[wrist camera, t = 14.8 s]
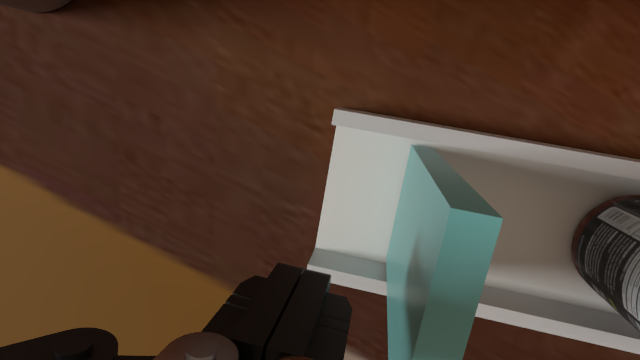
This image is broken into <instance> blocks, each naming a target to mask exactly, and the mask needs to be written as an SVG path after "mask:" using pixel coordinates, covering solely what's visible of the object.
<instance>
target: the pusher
mask: <svg viewBox="0 0 640 360" xmlns="http://www.w3.org/2000/svg"><path fill="white" fill-rule="evenodd" d="M502 221H503V218H502V217H501V216H500V215H499V214H498V213H497V212H496V211H495V210H494V209H493V208H492V207H491V206H490V205H489V204H488V203H487V202H486V201H485V200H484V199H483V198H482V197H481V196H480V195H479V194H478V193H477V192H476V191H475V190H474V189H473V188H472V187H471V186H470V185H469V184H468V183H467V182H466V181H465V180H464V179H463V178H462V177H461V176H460V175H459V174H458V173H457V172H456V171H455V170H454V169H453V168H452V167H451V166H450V165H449V164H448V163H447V162H446V161H445V160H444V159H443V158H442V157H441V156H440V155H439V154H438V153H437V152H436V151H435V150H434V149H433V148H428V147H422V146H417V145H411V148H410V153H409V157H408V162H407V166H406V171H405V175H404V180H403V184H402V189H401V193H400V198H399V202H398V207H397V211H396V216H395V220H394V225H393V229H392V234H391V238H390V243H389V247H388V252H387V256H386V270H387V319H388V360H462V358H463V355H464V352H465V348H466V345H467V341H468V338H469V334H470V331H471V328H472V324H473V321H474V317H475V314H476V310H477V307H478V304H479V300H480V297H481V293H482V290H483V286H484V283H485V280H486V276H487V273H488V269H489V266H490V262H491V259H492V256H493V252H494V249H495V245H496V242H497V238H498V235H499V232H500V228H501V225H502Z"/></svg>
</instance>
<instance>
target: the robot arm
mask: <svg viewBox="0 0 640 360" xmlns="http://www.w3.org/2000/svg"><path fill="white" fill-rule="evenodd" d="M70 1H71V0H0V5H4V6H8V7H12V8H16V9H20V10H25V11H30V12H36V13H37V12H49V11H52V10H55V9H58V8H60V7H63V6H64V5H65V4H67V3H68V2H70ZM330 281H331V275H330V274H326V273H322V272H317V271H313V270H309V269H305V270H304V268H300V267H295V266H291V265H287V264H283V263H277V265H276V266H275V268H274V269H273V271H272V272H271V274H270V275H269V276H268V278H264V277H260V276H256V275H255V276H253V277H251V278H249V279H247V280H245V281H243V282H241V283H240V285H239V286H238V287H237V288H236V290H235V291H234V292H233V294H232V295H231V296H230V297H229V298H228V299H227V301H226V303H225V304H223V306H222V307H221V308H220V310H219V311H218V312H217V313H216V314H215V315H214V317H213V318H212V319H211V320H210V322H209V323H208V324H207V325H206V327H205V328H204V329H203V330H202V332H195V333H190V334H187V335H183V336H181V337H179V338H177V339H175V340H173V341H172V342H171V343H170V344H168V346H166V347H165V348H164V349H163V350H162V351H161V352H160V353H159V354H158V355H157V356H118V342H117V339H116V338H115V336H114V335H113V334H111V333H110V332H108V331H105V330H102V329H98V328H76V329H71V330H66V331H62V332H58V333H54V334H50V335H46V336H42V337H39V338H35V339H31V340H27V341H23V342H19V343H15V344H11V345H7V346H4V347H0V360H343V359H344V353H345V347H346V342H347V336H348V330H349V324H350V318H351V312H352V308H351V306H350V304H349V302H348V300H347V298H346V297H344V296H340V295H335V294H331V293H328V292H329V286H330Z"/></svg>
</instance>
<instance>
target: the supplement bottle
mask: <svg viewBox="0 0 640 360" xmlns="http://www.w3.org/2000/svg"><path fill="white" fill-rule="evenodd" d="M571 254H572V260H573V262H574V264H575V267H576V269H577V271H578V273H579V274H580V276H581V277H582V278H583V279H584V281H586V283H587V284H588V285H589V286H590V287H591V288H592V289H593V290H594V291H595V292H596V293H597V294H598V295H600V296H601V297H602V298H603V299H604V300H605V301H606V302H607V303H608V304H609V305H610V306H612V307H613V308H614V309H615V310H616V311H617V312H618V313H619V314H620V315H621V316H622V317H623V318H624V319H625V320H627V321H628V322H629V323H630V324H631V325H632V326H633V327H634V328H635V329H636V330H638V331H639V332H640V195H628V196H622V197H621V196H619V197H616V198H614V199H611V200H608V201H606V202H604V203H602V204H601V205H599V206H597V207H596V208H594V209H593V210H591V211H590V212H589V213H588V214H587V215H586V216H585V217H584V218H583V219H582V220H581V222H580V223H579V225H578V227H577V229H576V230H575V233H574V236H573V240H572V244H571Z"/></svg>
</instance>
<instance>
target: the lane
mask: <svg viewBox="0 0 640 360" xmlns="http://www.w3.org/2000/svg"><path fill="white" fill-rule="evenodd" d="M332 125H337V126H336V131H335V137H334V143H333V149H332V154H331V160H330V166H329V172H328V177H327V183H326V189H325V195H324V200H323V206H322V212H321V218H320V223H319V229H318V235H317V241H316V246H315V249H314V252H313V254H312V256H311V258H310V260H309V263H308V266H307V269H309V270H313V271H317V272H322V273H326V274H330V275H331V281H330V283H334V284H338V285H342V286H347V287H351V288H355V289H360V290H364V291H368V292H373V293H377V294H381V295H386V296H387V270H386V256H387V252H388V247H389V243H390V238H391V234H392V229H393V225H394V220H395V216H396V211H397V207H398V202H399V198H400V193H401V189H402V184H403V180H404V175H405V171H406V166H407V162H408V157H409V153H410V148H411V145H417V146H422V147H428V148H433V149H434V150H435V151H436V152H437V153H438V154H439V155H440V156H441V157H442V158H443V159H444V160H445V161H446V162H447V163H448V164H449V165H450V166H451V167H452V168H453V169H454V170H455V171H456V172H457V173H458V174H459V175H460V176H461V177H462V178H463V179H464V180H465V181H466V182H467V183H468V184H469V185H470V186H471V187H472V188H473V189H474V190H475V191H476V192H477V193H478V194H479V195H480V196H481V197H482V198H483V199H484V200H485V201H486V202H487V203H488V204H489V205H490V206H491V207H492V208H493V209H494V210H495V211H496V212H497V213H498V214H499V215H500V216H501V217H502V218H503V221H502V225H501V228H500V232H499V235H498V238H497V242H496V245H495V249H494V252H493V256H492V259H491V262H490V266H489V269H488V273H487V276H486V280H485V283H484V286H483V290H482V293H481V297H480V300H479V304H478V307H477V310H476V314H475V316H476V317H481V318H485V319H489V320H494V321H498V322H502V323H507V324H511V325H515V326H520V327H524V328H528V329H533V330H537V331H541V332H546V333H550V334H554V335H559V336H563V337H567V338H572V339H576V340H580V341H585V342H589V343H593V344H598V345H602V346H606V347H611V348H615V349H619V350H623V351H628V352H632V353H636V354H640V332H639V331H638V330H636V329H635V328H634V327H633V326H632V325H631V324H630V323H629V322H628V321H627V320H625V319H624V318H623V317H622V316H621V315H620V314H619V313H618V312H617V311H616V310H615V309H614V308H613V307H612V306H610V305H609V304H608V303H607V302H606V301H605V300H604V299H603V298H602V297H601V296H600V295H598V294H597V293H596V292H595V291H594V290H593V289H592V288H591V287H590V286H589V285H588V284H587V283H586V281H584V279H583V278H582V277H581V276H580V274H579V273H578V271H577V269H576V267H575V264H574V262H573V260H572V254H571V244H572V240H573V236H574V233H575V230H576V229H577V227H578V225H579V223H580V222H581V220H582V219H583V218H584V217H585V216H586V215H587V214H588V213H589V212H590V211H591V210H593V209H594V208H596V207H597V206H599V205H601V204H602V203H604V202H606V201H608V200H611V199H614V198H616V197H619V196H621V197H622V196H628V195H640V160H639V159H633V158H628V157H622V156H616V155H611V154H605V153H599V152H593V151H588V150H582V149H576V148H570V147H565V146H559V145H553V144H547V143H542V142H536V141H530V140H525V139H519V138H513V137H507V136H502V135H496V134H490V133H484V132H479V131H473V130H467V129H462V128H456V127H450V126H444V125H439V124H433V123H427V122H421V121H416V120H410V119H404V118H398V117H393V116H387V115H381V114H376V113H370V112H364V111H358V110H353V109H347V108H337V109H334V113H333V119H332Z"/></svg>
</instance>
